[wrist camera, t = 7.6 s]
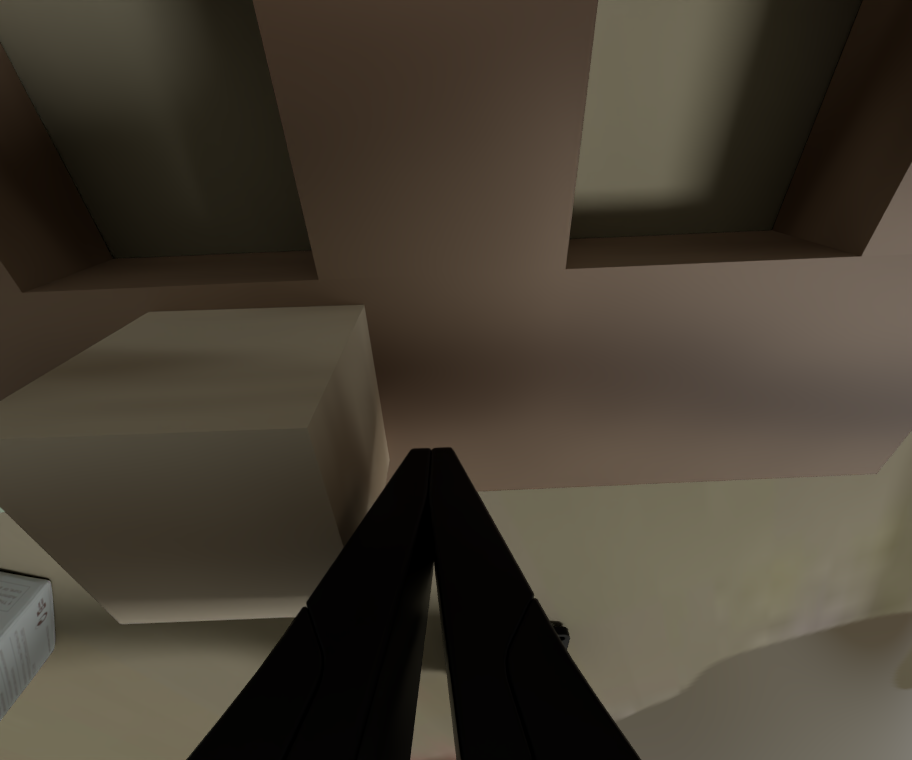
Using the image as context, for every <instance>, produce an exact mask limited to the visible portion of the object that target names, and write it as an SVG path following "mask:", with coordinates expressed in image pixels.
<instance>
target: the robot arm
mask: <svg viewBox="0 0 912 760" xmlns="http://www.w3.org/2000/svg"><path fill="white" fill-rule="evenodd" d="M433 566H435V576H436V584H437V593H438V602H439V611H440V620H441V628H442V637H443V646H444V655H445V663H446V672H447V681H448V690H449V699H450V707H451V716H452V725H453V734H454V742H455V751H456V760H641V759H640V757H639V756H638V754H637V753H636V751H635V750H634V749H633V747H632V746H631V744H630V743H629V741H628V740H627V739H626V737H625V736H624V734H623V733H622V731H621V730H620V729H619V727H618V726H617V724H616V723H615V722H614V720H613V719H612V717H611V716H610V714H609V713H608V712H607V710H606V709H605V707H604V706H603V704H602V703H601V702H600V700H599V699H598V697H597V696H596V694H595V693H594V691H593V690H592V688H591V687H590V685H589V684H588V682H587V680H586V679H585V677H584V676H583V674H582V673H581V671H580V670H579V668H578V667H577V665H576V664H575V662H574V661H573V659H572V658H571V656H570V654H569V653H568V651H567V647H568V644H569V640H570V636H569V632H568V629H567V628H566V627H561V626H558V627H553V626H552V624H551V623H550V621H549V619H548V617H547V616H546V614H545V612H544V610H543V608H542V607H541V605H540V603H539V601H538V600H537V599H536V598H534V593H533V591H532V589H531V587H530V586H529V584H528V582H527V580H526V578H525V577H524V575H523V573H522V571H521V569H520V568H519V566H518V564H517V562H516V561H515V559H514V557H513V555H512V553H511V552H510V550H509V548H508V546H507V544H506V543H505V541H504V539H503V537H502V535H501V534H500V532H499V530H498V528H497V527H496V525H495V523H494V521H493V519H492V518H491V516H490V514H489V512H488V510H487V509H486V507H485V505H484V503H483V501H482V500H481V498H480V496H479V494H478V493H477V491H476V489H475V487H474V485H473V484H472V482H471V480H470V478H469V476H468V475H467V473H466V471H465V469H464V467H463V466H462V464H461V462H460V460H459V459H458V457H457V455H456V453H455V451H454V450H453V449H452V448H451V447H437V448H433V449H432V450H431V449H430V448H413V449H411V450H410V451H409V452H408V454H407V455H406V457H405V458H404V460H403V461H402V463H401V464H400V466H399V467H398V469H397V470H396V471H395V473H394V474H393V476H392V477H391V479H390V480H389V482H388V483H387V485H386V486H385V488H384V489H383V490H382V492H381V493H380V495H379V496H378V498H377V499H376V501H375V502H374V504H373V505H372V507H371V508H370V509H369V511H368V512H367V514H366V515H365V517H364V518H363V520H362V521H361V523H360V524H359V526H358V527H357V528H356V530H355V531H354V533H353V534H352V536H351V537H350V539H349V540H348V542H347V543H346V544H345V546H344V547H343V549H342V550H341V552H340V553H339V555H338V556H337V558H336V559H335V561H334V562H333V563H332V565H331V566H330V568H329V569H328V571H327V572H326V574H325V575H324V577H323V578H322V580H321V581H320V582H319V584H318V585H317V587H316V588H315V590H314V591H313V593H312V594H311V596H310V597H309V599H308V600H307V602H306V605H307V607H305V606H304V607H302V608H301V610H300V611H299V613H298V614H297V616H296V617H295V619H294V620H293V622H292V623H291V625H290V626H289V627H288V629H287V630H286V632H285V633H284V635H283V636H282V637H281V639H280V640H279V642H278V643H277V644H276V646H275V647H274V649H273V650H272V651H271V653H270V654H269V655H268V657H267V658H266V660H265V661H264V662H263V664H262V665H261V667H260V668H259V669H258V671H257V672H256V673H255V675H254V676H253V677H252V678H251V680H250V681H249V682H248V683H247V685H246V686H245V687H244V689H243V690H242V691H241V692H240V694H239V695H238V696H237V697H236V699H235V700H234V701H233V703H232V704H231V705H230V706H229V708H228V709H227V710H226V711H225V713H224V714H223V715H222V717H221V718H220V719H219V720H218V721H217V723H216V724H215V725H214V726H213V728H212V729H211V730H210V731H209V732H208V734H207V735H206V736H205V737H204V739H203V740H202V741H201V742H200V744H199V745H198V746H197V747H196V748H195V750H194V751H193V752H192V753H191V755H190V756H189V757H188V758H187V759H186V760H410V755H411V747H412V739H413V731H414V723H415V715H416V706H417V698H418V690H419V682H420V674H421V666H422V657H423V649H424V641H425V633H426V625H427V617H428V608H429V600H430V592H431V584H432V576H433Z"/></svg>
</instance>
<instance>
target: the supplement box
mask: <svg viewBox="0 0 912 760" xmlns="http://www.w3.org/2000/svg"><path fill="white" fill-rule="evenodd" d="M54 648H55V623H54V609H53V595H52V586H51V582H50V581H49V580H46V579H39V578H33V577H27V576H21V575H16V574H10V573H5V572H0V721H1V719H2V718H3V717H4V715H5V714H6V713H7V711H8V710H9V709H10V707H11V706H12V705H13V704H14V702H15V701H16V700H17V698H18V697H19V696H20V694H21V693H22V692H23V690H24V689H25V688H26V687H27V685H28V684H29V683H30V681H31V680H32V679H33V677H34V676H35V675H36V673H37V672H38V671H39V669H40V668H41V667H42V665H43V664H44V663H45V661H46V660H47V658H48V657H49V656H50V654H51V653H52V652H53V650H54Z"/></svg>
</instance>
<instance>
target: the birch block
mask: <svg viewBox="0 0 912 760" xmlns="http://www.w3.org/2000/svg"><path fill="white" fill-rule="evenodd" d="M389 460H390V459H389V453H388V447H387V441H386V435H385V429H384V423H383V416H382V410H381V404H380V398H379V392H378V386H377V380H376V373H375V367H374V361H373V355H372V349H371V343H370V337H369V331H368V324H367V318H366V312H365V306H364V305H343V306H312V307H282V308H251V309H220V310H189V311H159V312H148V313H146V314H144V315H143V316H141V317H139V318H138V319H136V320H134V321H133V322H131V323H129V324H128V325H126V326H124V327H123V328H121V329H119V330H118V331H116V332H114V333H113V334H111V335H109V336H108V337H106V338H104V339H103V340H101V341H99V342H98V343H96V344H94V345H93V346H91V347H89V348H88V349H86V350H84V351H83V352H81V353H79V354H78V355H76V356H74V357H73V358H71V359H69V360H68V361H66V362H64V363H63V364H61V365H59V366H58V367H56V368H54V369H53V370H51V371H49V372H48V373H46V374H44V375H43V376H41V377H39V378H38V379H36V380H34V381H33V382H31V383H29V384H28V385H26V386H24V387H23V388H21V389H19V390H18V391H16V392H14V393H13V394H11V395H9V396H8V397H6V398H4V399H3V400H1V401H0V507H1V508H2V509H3V510H4V511H5V512H6V513H7V514H8V515H9V516H10V517H11V518H12V519H13V520H14V521H15V522H16V523H17V524H18V525H19V526H20V527H21V528H22V529H23V530H24V531H25V532H26V533H27V534H28V535H29V536H30V537H31V538H32V539H33V540H34V541H36V542H37V543H38V544H39V545H40V546H41V547H42V548H43V549H44V550H45V551H46V552H47V553H48V554H49V555H50V556H51V557H52V558H53V559H54V560H55V561H56V562H57V563H58V564H59V565H60V566H61V567H62V568H63V569H64V570H65V571H66V572H67V573H68V574H69V575H70V576H71V577H72V578H73V579H75V580H76V581H77V582H78V583H79V584H80V585H81V586H82V587H83V588H84V589H85V590H86V591H87V592H88V593H89V594H90V595H91V596H92V597H93V598H94V599H95V600H96V601H97V602H98V603H99V604H100V605H101V606H102V607H103V608H104V609H105V610H106V611H107V612H108V613H109V614H110V615H111V616H112V617H113V618H115V619H116V620H117V621H118V622H119V623H120V624H139V623H163V622H187V621H211V620H235V619H259V618H283V617H296V616H297V614H298V613H299V611H300V610H301V608H302V607H304V606H305V607H307V605H306V602H307V600H308V599H309V597H310V596H311V594H312V593H313V591H314V590H315V588H316V587H317V585H318V584H319V582H320V581H321V580H322V578H323V577H324V575H325V574H326V572H327V571H328V569H329V568H330V566H331V565H332V563H333V562H334V561H335V559H336V558H337V556H338V555H339V553H340V552H341V550H342V549H343V547H344V546H345V544H346V543H347V542H348V540H349V539H350V537H351V536H352V534H353V533H354V531H355V530H356V528H357V527H358V526H359V524H360V523H361V521H362V520H363V518H364V517H365V515H366V514H367V512H368V511H369V509H370V508H371V507H372V505H373V504H374V502H375V501H376V499H377V498H378V496H379V495H380V493H381V492H382V490H383V489H384V488H385V485H386V479H387V472H388V466H389Z"/></svg>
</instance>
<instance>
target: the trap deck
mask: <svg viewBox="0 0 912 760" xmlns="http://www.w3.org/2000/svg"><path fill="white" fill-rule="evenodd" d="M253 4H254V9H255V13H256V17H257V21H258V26H259V30H260V34H261V38H262V42H263V47H264V51H265V55H266V59H267V64H268V68H269V72H270V76H271V80H272V85H273V89H274V93H275V97H276V102H277V106H278V110H279V114H280V118H281V123H282V127H283V131H284V135H285V140H286V144H287V148H288V152H289V157H290V161H291V165H292V169H293V173H294V178H295V182H296V186H297V190H298V195H299V199H300V203H301V207H302V211H303V216H304V220H305V224H306V228H307V233H308V237H309V241H310V245H311V249H312V250H306V251H283V252H260V253H237V254H213V255H190V256H167V257H144V258H121V259H113V258H112V256H111V254H110V252H109V250H108V248H107V246H106V245H105V243H104V241H103V239H102V237H101V235H100V233H99V231H98V229H97V227H96V225H95V223H94V221H93V220H92V218H91V216H90V214H89V212H88V210H87V208H86V206H85V204H84V202H83V200H82V198H81V196H80V195H79V193H78V191H77V189H76V187H75V185H74V183H73V181H72V179H71V177H70V175H69V173H68V171H67V170H66V168H65V166H64V164H63V162H62V160H61V158H60V156H59V154H58V152H57V150H56V148H55V147H54V145H53V143H52V141H51V139H50V137H49V135H48V133H47V131H46V129H45V127H44V125H43V123H42V122H41V120H40V118H39V116H38V114H37V112H36V110H35V108H34V106H33V104H32V102H31V100H30V98H29V97H28V95H27V93H26V91H25V89H24V87H23V85H22V83H21V81H20V79H19V77H18V75H17V73H16V72H15V70H14V68H13V66H12V64H11V62H10V60H9V58H8V56H7V54H6V52H5V50H4V48H3V47H2V45H1V43H0V401H1V400H3V399H4V398H6V397H8V396H9V395H11V394H13V393H14V392H16V391H18V390H19V389H21V388H23V387H24V386H26V385H28V384H29V383H31V382H33V381H34V380H36V379H38V378H39V377H41V376H43V375H44V374H46V373H48V372H49V371H51V370H53V369H54V368H56V367H58V366H59V365H61V364H63V363H64V362H66V361H68V360H69V359H71V358H73V357H74V356H76V355H78V354H79V353H81V352H83V351H84V350H86V349H88V348H89V347H91V346H93V345H94V344H96V343H98V342H99V341H101V340H103V339H104V338H106V337H108V336H109V335H111V334H113V333H114V332H116V331H118V330H119V329H121V328H123V327H124V326H126V325H128V324H129V323H131V322H133V321H134V320H136V319H138V318H139V317H141V316H143V315H144V314H146V313H148V312H159V311H189V310H220V309H251V308H282V307H312V306H343V305H364V306H365V312H366V318H367V324H368V331H369V337H370V343H371V349H372V355H373V361H374V367H375V373H376V380H377V386H378V392H379V398H380V404H381V410H382V416H383V423H384V429H385V435H386V441H387V447H388V453H389V459H390V460H389V466H388V472H387V479H386V485H387V483H388V482H389V480H390V479H391V477H392V476H393V474H394V473H395V471H396V470H397V469H398V467H399V466H400V464H401V463H402V461H403V460H404V458H405V457H406V455H407V454H408V452H409V451H410V450H411V449H413V448H430V449H431V450H432V449H433V448H437V447H451V448H452V449H453V450H454V451H455V453H456V455H457V457H458V459H459V460H460V462H461V464H462V466H463V467H464V469H465V471H466V473H467V475H468V476H469V478H470V480H471V482H472V484H473V485H474V487H475V489H476V491H498V490H521V489H543V488H566V487H589V486H612V485H635V484H658V483H680V482H703V481H726V480H749V479H772V478H794V477H817V476H840V475H863V474H877V473H878V472H879V471H880V469H881V468H882V467H883V466H884V464H885V463H886V462H887V461H888V459H889V458H890V457H891V456H892V454H893V453H894V452H895V451H896V449H897V448H898V447H899V446H900V444H901V443H902V442H903V441H904V439H905V438H906V437H907V436H908V434H909V433H910V432H911V431H912V0H863V1H862V4H861V6H860V9H859V11H858V14H857V16H856V19H855V22H854V24H853V27H852V29H851V32H850V34H849V37H848V39H847V42H846V44H845V47H844V49H843V52H842V54H841V57H840V60H839V62H838V65H837V67H836V70H835V72H834V75H833V77H832V80H831V82H830V85H829V87H828V90H827V92H826V95H825V98H824V100H823V103H822V105H821V108H820V110H819V113H818V115H817V118H816V120H815V123H814V125H813V128H812V130H811V133H810V135H809V138H808V141H807V143H806V146H805V148H804V151H803V153H802V156H801V158H800V161H799V163H798V166H797V168H796V171H795V173H794V176H793V179H792V181H791V184H790V186H789V189H788V191H787V194H786V196H785V199H784V201H783V204H782V206H781V209H780V211H779V214H778V216H777V219H776V222H775V224H774V227H773V229H772V230H768V231H745V232H722V233H699V234H676V235H653V236H630V237H607V238H583V239H569V236H570V228H571V220H572V212H573V203H574V195H575V187H576V178H577V170H578V162H579V154H580V145H581V137H582V129H583V121H584V112H585V104H586V96H587V87H588V79H589V71H590V63H591V54H592V46H593V38H594V30H595V21H596V13H597V5H598V0H253ZM386 485H385V486H386ZM0 512H5V511H4V510H3V509H2V508H1V507H0Z"/></svg>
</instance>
